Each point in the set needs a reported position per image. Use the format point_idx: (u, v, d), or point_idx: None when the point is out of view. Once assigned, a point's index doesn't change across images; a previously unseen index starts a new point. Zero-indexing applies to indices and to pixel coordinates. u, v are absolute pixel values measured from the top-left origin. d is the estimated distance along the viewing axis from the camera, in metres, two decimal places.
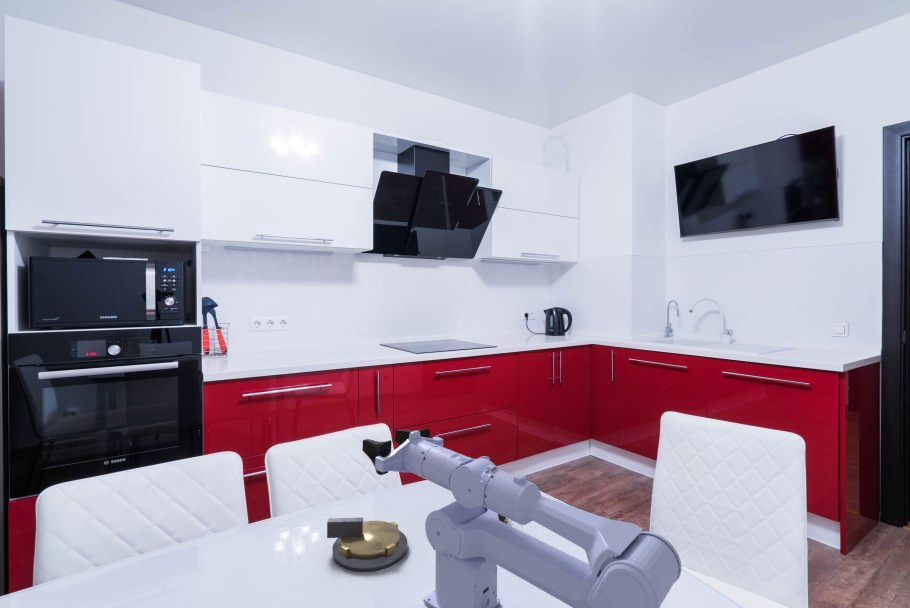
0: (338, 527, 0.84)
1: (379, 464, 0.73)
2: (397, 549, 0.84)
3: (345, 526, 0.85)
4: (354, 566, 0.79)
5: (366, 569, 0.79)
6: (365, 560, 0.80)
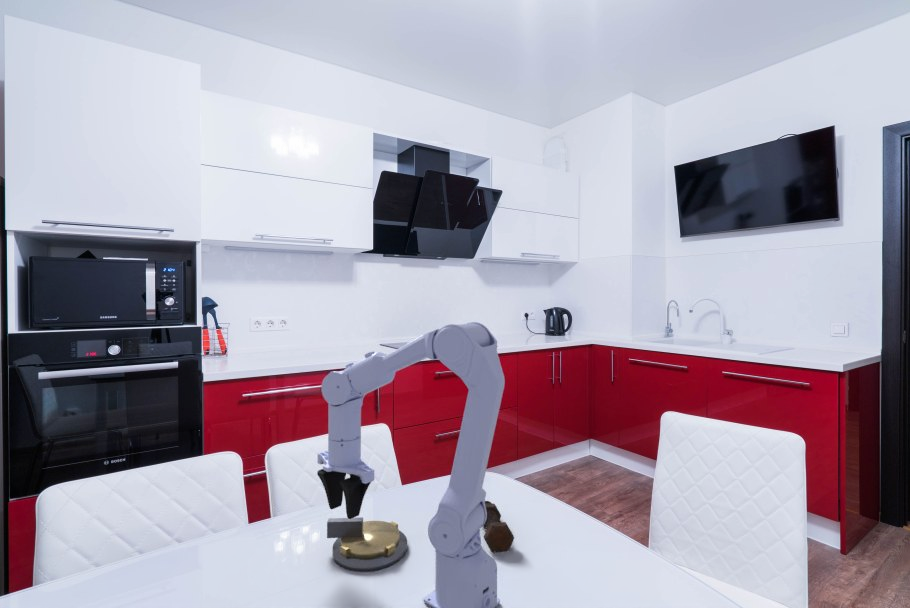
0: (338, 527, 0.84)
1: (369, 476, 0.76)
2: (397, 549, 0.84)
3: (345, 526, 0.85)
4: (354, 566, 0.79)
5: (366, 569, 0.79)
6: (365, 560, 0.80)
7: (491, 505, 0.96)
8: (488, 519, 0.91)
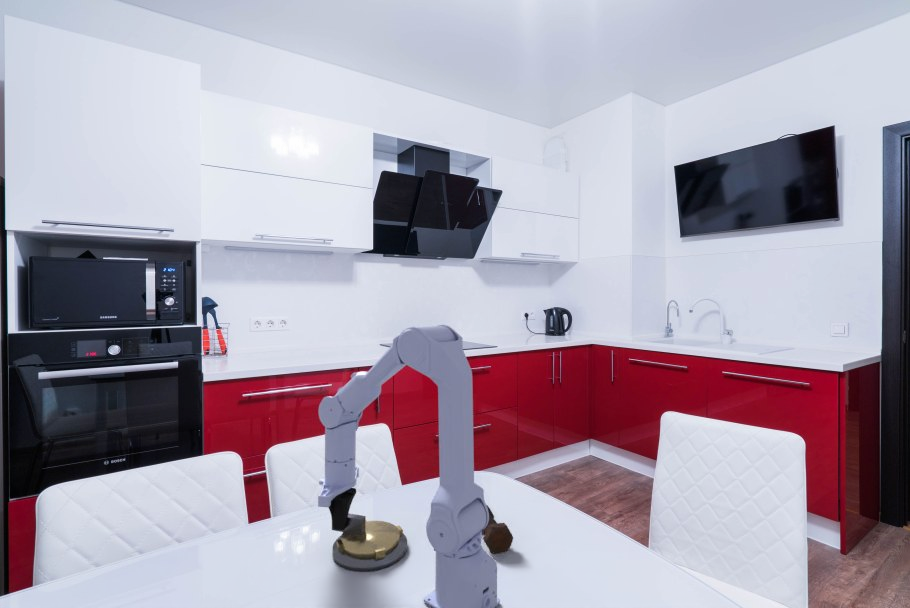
0: None
1: (322, 500, 0.79)
2: (397, 549, 0.84)
3: (347, 521, 0.86)
4: (354, 566, 0.79)
5: (366, 569, 0.79)
6: (365, 560, 0.80)
7: None
8: None
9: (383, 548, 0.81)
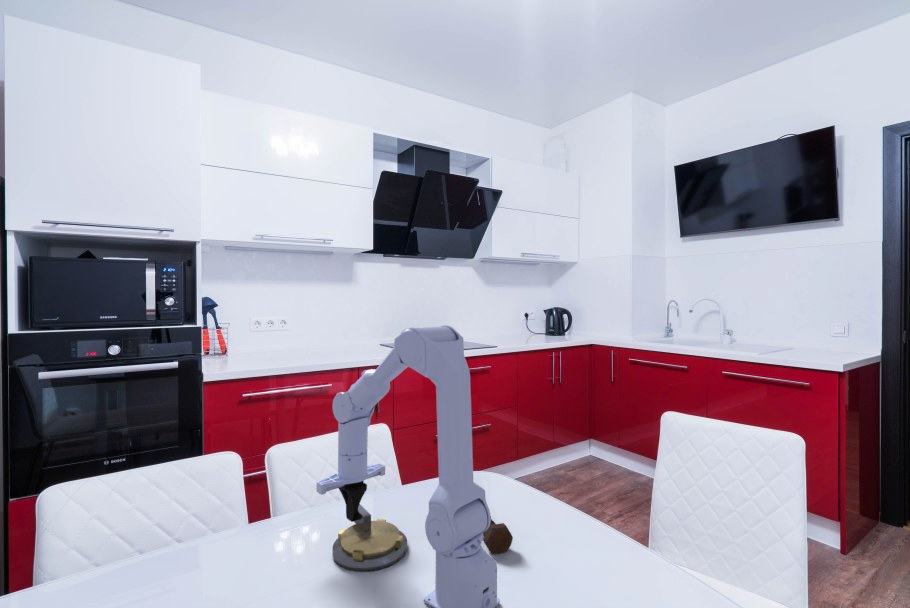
0: None
1: (318, 487, 0.85)
2: (397, 549, 0.84)
3: None
4: (354, 566, 0.79)
5: (366, 569, 0.79)
6: (365, 560, 0.80)
7: None
8: None
9: (362, 551, 0.80)
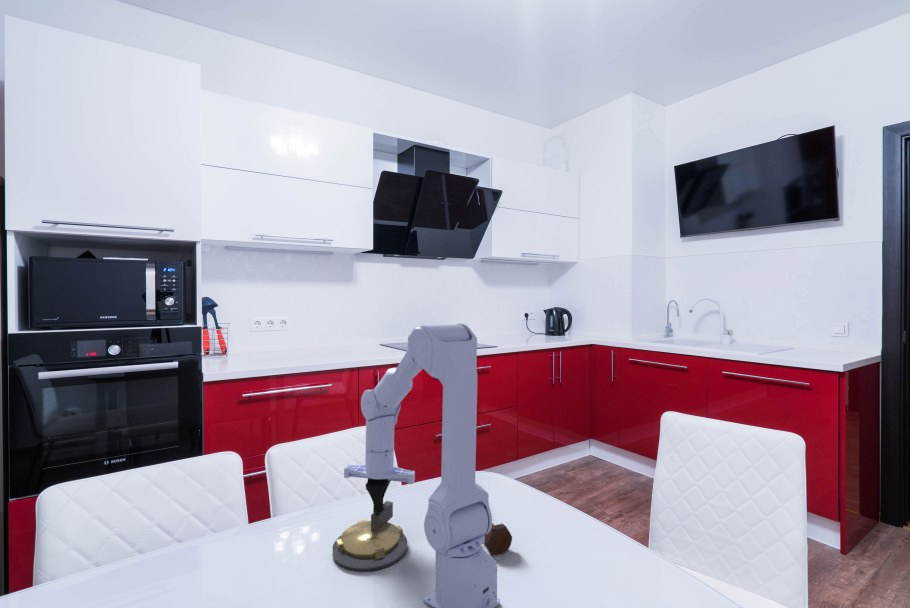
0: None
1: None
2: (397, 549, 0.84)
3: None
4: (354, 566, 0.79)
5: (366, 569, 0.79)
6: (365, 560, 0.80)
7: None
8: None
9: (341, 543, 0.82)
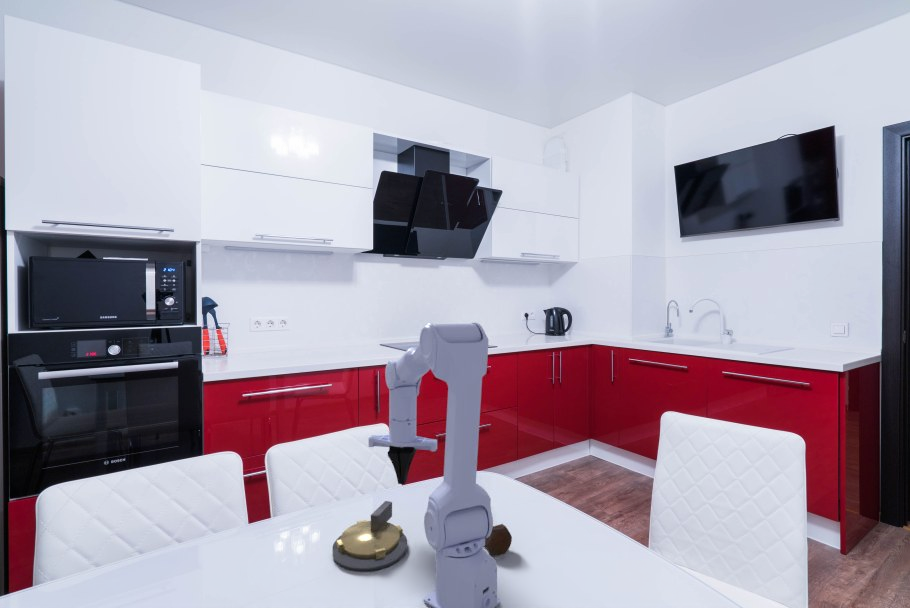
0: None
1: None
2: (397, 549, 0.84)
3: None
4: (354, 566, 0.79)
5: (366, 569, 0.79)
6: (365, 560, 0.80)
7: None
8: None
9: (341, 543, 0.82)
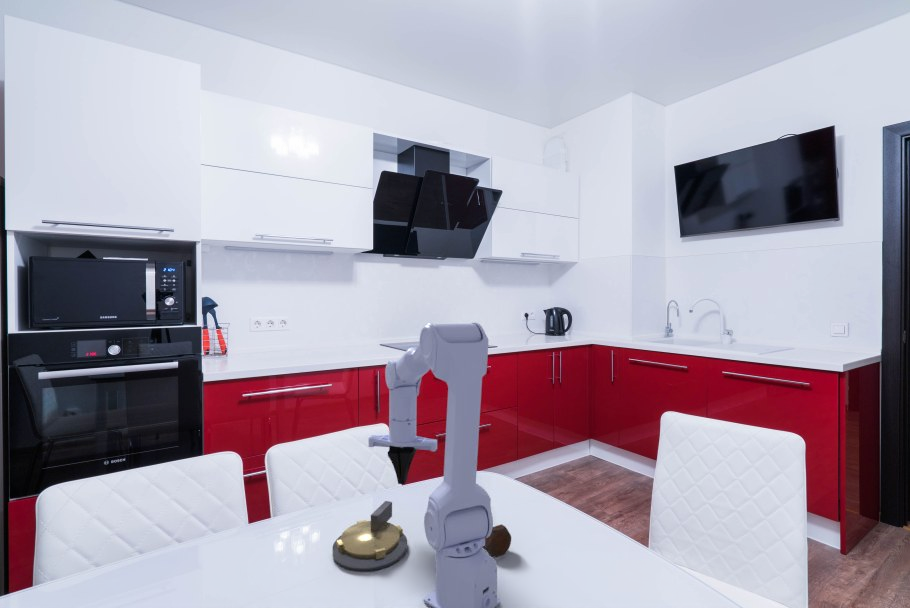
0: None
1: None
2: (397, 549, 0.84)
3: None
4: (354, 566, 0.79)
5: (366, 569, 0.79)
6: (365, 560, 0.80)
7: None
8: None
9: (341, 543, 0.82)
